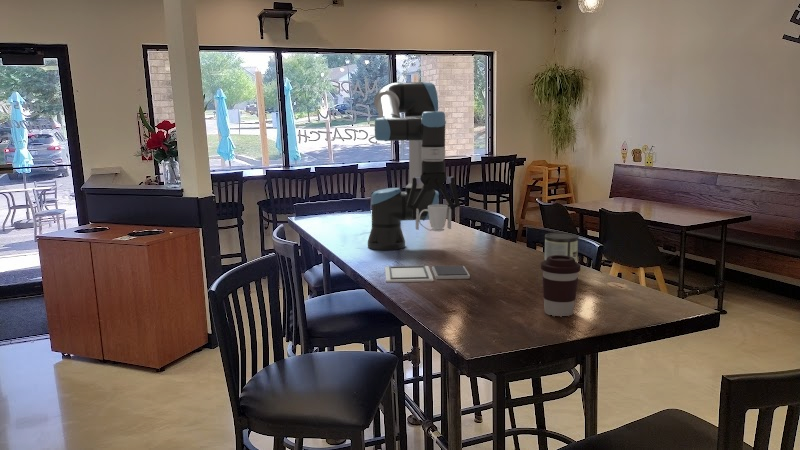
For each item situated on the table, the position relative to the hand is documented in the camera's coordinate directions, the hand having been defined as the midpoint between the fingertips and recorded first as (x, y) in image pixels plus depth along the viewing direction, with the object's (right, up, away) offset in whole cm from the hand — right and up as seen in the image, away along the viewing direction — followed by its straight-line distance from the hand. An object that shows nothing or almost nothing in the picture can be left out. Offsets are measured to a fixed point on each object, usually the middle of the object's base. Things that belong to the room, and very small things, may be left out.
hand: (433, 228), depth 197 cm
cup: (0, -1, 0) cm, 1 cm away
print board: (-8, -15, +2) cm, 17 cm away
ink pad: (+6, -15, +3) cm, 16 cm away
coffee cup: (+31, -22, -39) cm, 54 cm away
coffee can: (+40, -16, -5) cm, 44 cm away
